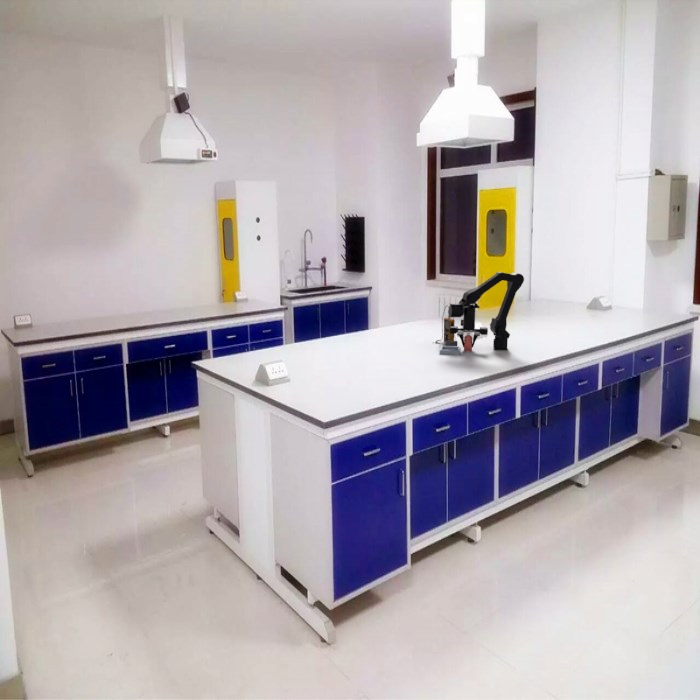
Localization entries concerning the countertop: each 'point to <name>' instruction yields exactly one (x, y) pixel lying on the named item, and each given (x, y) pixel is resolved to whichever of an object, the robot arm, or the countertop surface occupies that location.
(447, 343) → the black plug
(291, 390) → the countertop surface
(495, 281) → the robot arm
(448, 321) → the multimeter
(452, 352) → the tray
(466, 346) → the red rounded cylinder
